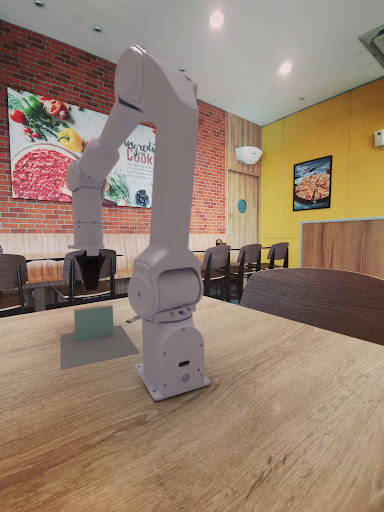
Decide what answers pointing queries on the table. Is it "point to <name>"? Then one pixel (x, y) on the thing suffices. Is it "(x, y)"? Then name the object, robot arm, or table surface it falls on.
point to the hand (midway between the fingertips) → (90, 288)
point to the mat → (95, 348)
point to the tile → (93, 322)
